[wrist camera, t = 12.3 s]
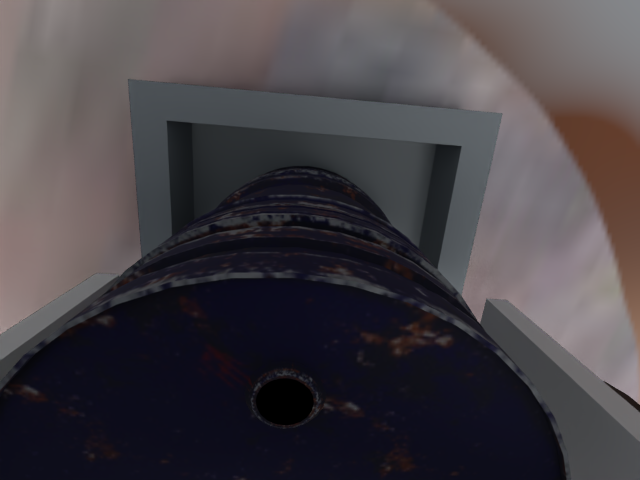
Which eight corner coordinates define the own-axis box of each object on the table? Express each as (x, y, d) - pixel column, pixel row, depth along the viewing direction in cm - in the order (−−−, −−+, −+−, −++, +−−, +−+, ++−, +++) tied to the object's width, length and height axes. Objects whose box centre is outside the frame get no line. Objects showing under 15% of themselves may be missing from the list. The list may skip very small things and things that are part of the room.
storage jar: (373, 328, 21) (496, 712, 7) (217, 319, 21) (17, 708, 7) (397, 170, 19) (682, 286, 4) (216, 154, 18) (-140, 228, 4)
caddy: (179, 350, 23) (152, 394, 19) (167, 91, 18) (128, 79, 14) (415, 363, 23) (435, 408, 19) (463, 117, 19) (502, 113, 15)
